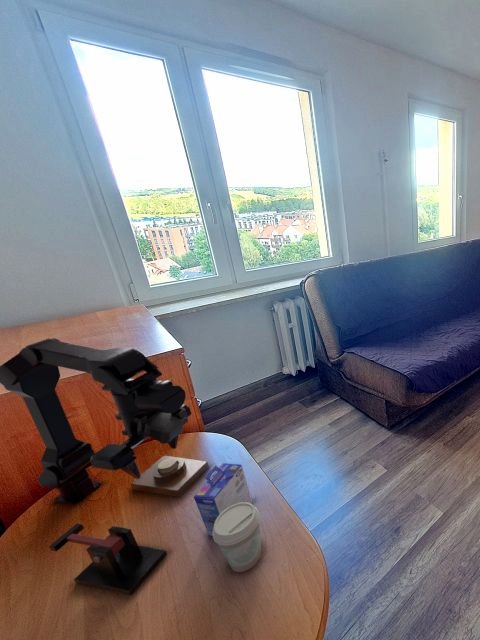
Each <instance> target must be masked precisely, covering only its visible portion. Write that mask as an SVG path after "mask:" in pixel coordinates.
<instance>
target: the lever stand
mask: <svg viewBox="0 0 480 640" xmlns="http://www.w3.org/2000/svg"><path fill="white" fill-rule="evenodd" d="M107 531H108V534H109V535H113V536H119V537H122V539H123V541H124V543H125V546H124V547H123V548H122V549H121V550H120V551H119V552H118V553H117V554H116V555H114V554H113V552H112V550H111V548H106V547H101V546H96V545H91V546H90V545H89V547H88V548H86V552H87V553H88V556H89V558H90V559H91V561H92V562H91V563H89V565H88V566H86V567H85V568H84V569H83V570H82V571H81V572H80V573H79V574H78V575H77V576H76V577H75V578H74V579H73V580H74V582H75V584H78V585H83V586H87V587H92V588H97V589H102V590H105V591H111V592H116V593H121V594H125V595H129V596H132V595H133V594H134V592H135V591H136V590H137V589H138V588H139V587H140V586H141V585H142V583H143V582H144V581H145V580H146V579H147V578H148V577H149V576H150V574H152V572H153V571H154V570H155V569H156V567H158V565H159V564H160V563H161V562H162V561H163V559H164V558H165V557H167V555H168V552H167V550H166V549H161V548H155V547H150V546H144V545H140V544H138V542H137V540H136V538H135V536H134V533H133V531H132V529H131V528H127V527H121V526H115V525H112V526H111V527H110V528H108V530H107Z"/></svg>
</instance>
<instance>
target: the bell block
mask: <svg viewBox="0 0 480 640" xmlns="http://www.w3.org/2000/svg"><path fill="white" fill-rule="evenodd" d="M168 458H175V459H176V460H177V463H178V466H177V467H176V468H175V469H174V470H173V471H171V472H169V473H164V474H161V473H160V472H159V469H158V465H159V463H160V462H162V461H163V460H165V459H168ZM209 468H210V467H209V463H208V461H206V460H200V459H199V460H198V459H192V458H185V457H178V456H169V455H163V456H162V457H161V458H159V459H158V460H157V461H155V462H154V463H153V464H152V465H151V466H150V467H149V468H147V469H146V470H145V471H144V472H142V473H140V476H141V478H139V479H136V478H134V480H132V481H131V482H130V486H131V488H132V490H133V491H138V492H146V493H151V494H158V495H164V496H171V497H177V498H180V497H181V496H182V495H183V494H184V493H185V492H186V491H187V490H188V489H190V487H191V486H192V485H193V484H194V483H195V482H196V481H197V480H198V479H199V478H200V477H201V476H202V475H203V474H204V473H205V472H206V471H207V470H208V469H209Z"/></svg>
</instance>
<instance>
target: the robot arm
mask: <svg viewBox="0 0 480 640" xmlns="http://www.w3.org/2000/svg"><path fill="white" fill-rule="evenodd" d="M59 367H60V368H65V369H70V370H74V371H77V372H84V373H87V374H90V376H91V378H92V380H93V381H94V382H97V383H100V384H102V385H103V386H101V390H102V391H105V392H106V391H107V392H110V394H111V397H112V399H113V401H114V403H115V406H116V409H117V411H118V413H117V414H115V415H114V416H115V419H116V420H118V421H121V422H122V424H123V426H124V429H122V430H121V434H122V436H127V437H128V438H127V440H124V441H123V442H122V443H114V442H113V443H112V442H109V443H108V444H107V445H105V446H103V447H102V448H100V449H99V450H98V451H96V452H95V450H94V449H93V446H92V444H91V443H90V442H86V441H83V440H80V439H78V438H77V437H76V436H75V433H74V431H73V428H72V426H71V423H70V421H69V419H68V417H67V415H66V412H65V410H64V407H63V404H62V402H61V400H60V398H59V396H58V393H57V391H56V389H57V386H58V383H59V381H60V378H61V373H60V368H59ZM158 368H159V367H158V366H157V365H156V364H155V363H153V362H152V361H151V360H150V359H148V357H146V356H145V355H144V354H143V353H142V352H141V351H139V350H137V349H135V348H132V347H131V348H130V347H116V348H109V349H99V348H94V347H89V346H84V345H79V344H74V343H69V342H63V341H61V340H60V339H58V338H55V337H52V338H45V339H43V340H39V341H37V342H34V343H33V342H32V343H30V344H28V345H25V347H23V348H22V349H21V350H20V351H19V353H17V354H16V355H14V356H13V357H11V358H9V359H8V360H7V361H6V362H4V363H2V364H1V365H0V384H1V385H2V386H3V387H4V389H5V390H6V391H8V392H10V393H13V394H16V395H18V396H21V397H22V400H23V401H24V404H25V405H26V408H27V409H28V412H29V414H30V416H31V418H32V420H33V423H34V425H35V427H36V429H37V431H38V433H39V435H40V437H41V440H42V442H43V444H44V446H45V450H44V452H43V453H42V456H41V459H40V463H41V466H42V469H43V470H42V472H41V473H40V475H39V476H38V478H37V480H36V481H37V482H38V483H39V485H41V486H42V487H43V488H44V487H45V488H50V489H56V490H58V492H59V495H57V496H56V497H55V498H54V499H53V501H55V502H58V503H62V504H63V503H64V504H70V505H76V504H78V503H79V502H81V500H83V499H84V498H85V497H87V496H88V495H90V494H91V493H92V492H93V491H95V490H96V489H97V488H98V487H100V486H102V482H101V481H95V480H92V478H91V477H90V474H89V472H88V470H87V469H88V468H89V467H90V466H92V468H94V469H101V470H108V471H117V470H121V471H123V472H125V473H126V474H128V475H129V476H131V477H133V478H134V479H139V478H141V476H140V475H141V471H140V470H139V467H138V465H137V463H136V461H137V459H138V456H135V454H136V453H135V450H134V448H136V447H137V446H139V444H141V443H142V442H144V441H145V440H146V439H148V438H150V439H153V440H155V441H157V442H159V443H160V444H163V445H164V444H168V446H169V447H170V448H171V449H173V450H176V449H177V447H178V439H179V435H181V434H182V432H183V428H184V426H185V425H186V424H187V423H189V418H188V417H190V416H191V415H192V411H191V407H190V406H189V405H187V404H184V403H185V401H186V395H187V394H186V391H185V389H184V388H183V387H182V386H180V385H177V384H173V381H171V380H166V379H165V380H161V379H160V380H159V379H158V378H160V377H161V376H163V372H161V371H160V370H159V369H158ZM143 372H145V373H143ZM141 373H143V374H142V375H140V376H138V375H139V374H141ZM135 376H137V377H136V378H134V377H135Z"/></svg>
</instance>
